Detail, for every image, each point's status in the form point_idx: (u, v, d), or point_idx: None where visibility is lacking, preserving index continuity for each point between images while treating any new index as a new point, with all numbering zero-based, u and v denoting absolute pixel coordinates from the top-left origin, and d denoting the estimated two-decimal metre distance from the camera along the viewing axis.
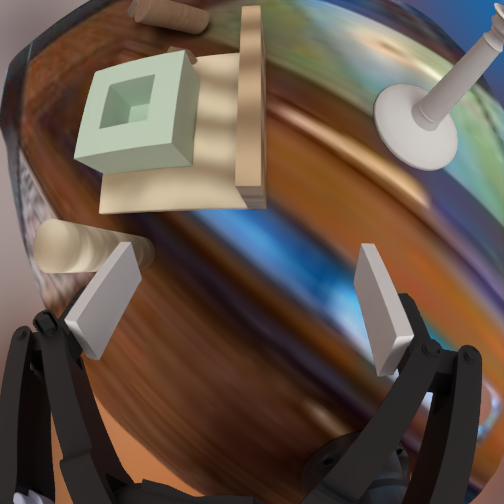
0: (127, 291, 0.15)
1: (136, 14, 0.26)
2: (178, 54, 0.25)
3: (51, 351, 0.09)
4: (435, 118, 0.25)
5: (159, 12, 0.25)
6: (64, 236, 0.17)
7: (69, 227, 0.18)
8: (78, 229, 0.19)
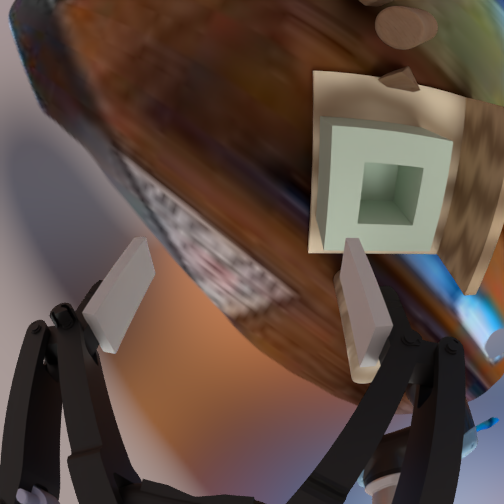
0: (142, 285, 0.16)
1: (382, 25, 0.15)
2: (447, 146, 0.21)
3: (67, 345, 0.10)
4: None
5: None
6: None
7: None
8: None
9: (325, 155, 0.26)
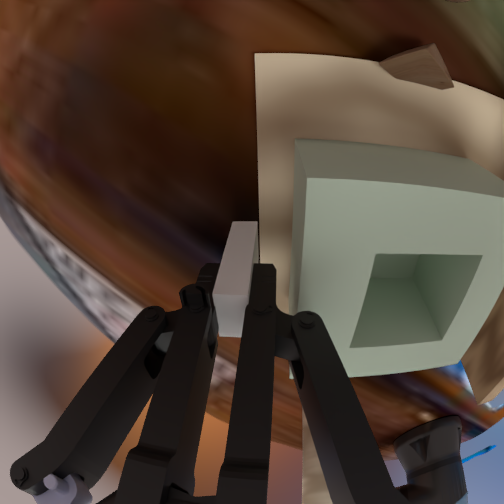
0: None
1: None
2: None
3: (186, 330, 0.10)
4: None
5: None
6: None
7: None
8: None
9: (298, 224, 0.14)
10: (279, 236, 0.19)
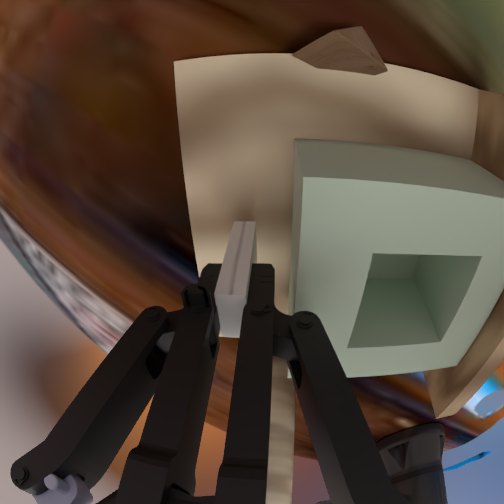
0: None
1: None
2: None
3: (188, 330, 0.10)
4: None
5: None
6: None
7: (284, 503, 0.15)
8: (285, 491, 0.16)
9: (296, 223, 0.14)
10: (210, 234, 0.20)
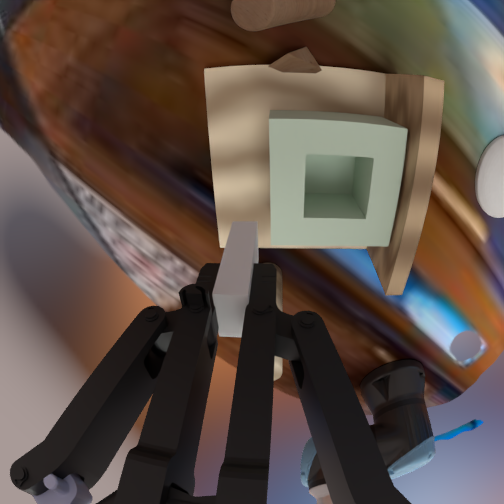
0: None
1: (236, 11, 0.16)
2: (400, 133, 0.21)
3: (186, 330, 0.10)
4: None
5: (283, 19, 0.16)
6: (279, 369, 0.27)
7: (276, 357, 0.27)
8: None
9: None
10: (223, 168, 0.32)
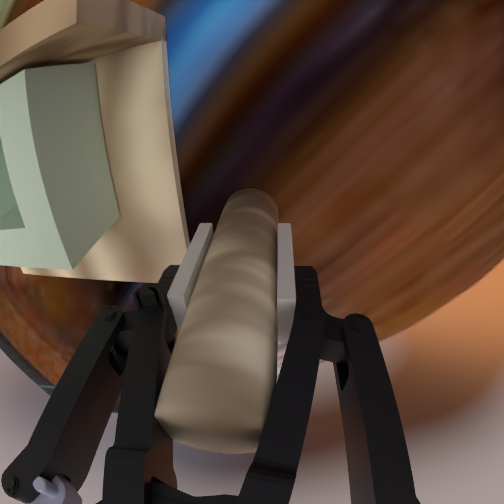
0: None
1: None
2: None
3: (144, 330, 0.10)
4: None
5: None
6: (179, 412, 0.07)
7: (164, 390, 0.08)
8: (174, 361, 0.09)
9: None
10: (88, 268, 0.24)
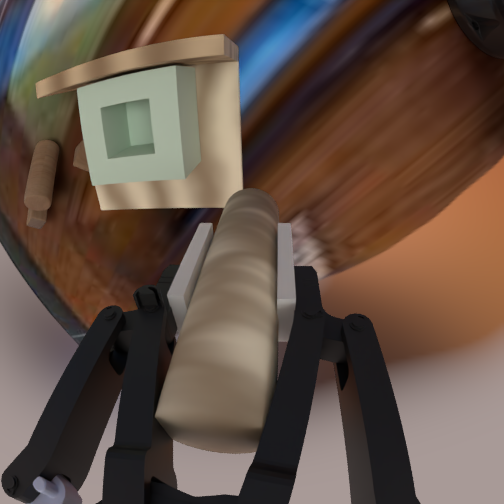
0: None
1: (42, 208, 0.31)
2: (81, 92, 0.24)
3: (144, 330, 0.10)
4: None
5: (40, 184, 0.30)
6: (180, 412, 0.07)
7: (166, 390, 0.08)
8: (175, 362, 0.09)
9: None
10: (166, 199, 0.38)
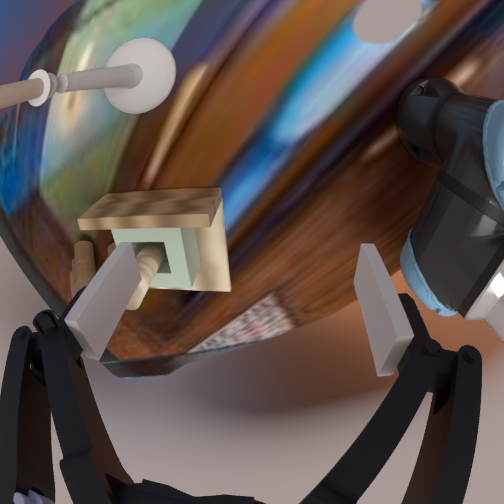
0: (127, 291, 0.15)
1: None
2: (114, 229, 0.42)
3: (51, 351, 0.09)
4: (131, 76, 0.32)
5: (88, 279, 0.48)
6: None
7: None
8: None
9: None
10: None
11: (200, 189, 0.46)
